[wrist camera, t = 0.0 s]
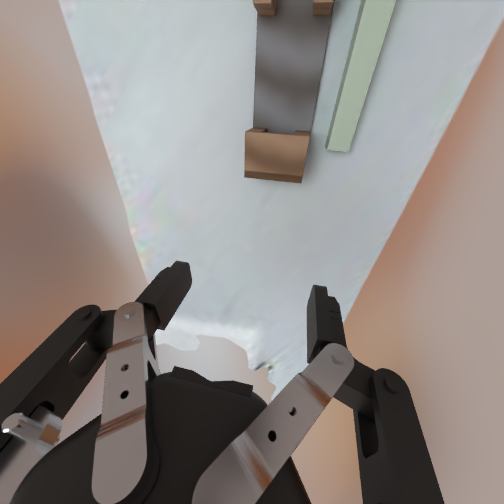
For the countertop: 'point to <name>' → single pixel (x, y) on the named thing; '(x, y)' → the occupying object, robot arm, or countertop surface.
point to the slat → (358, 71)
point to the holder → (285, 85)
